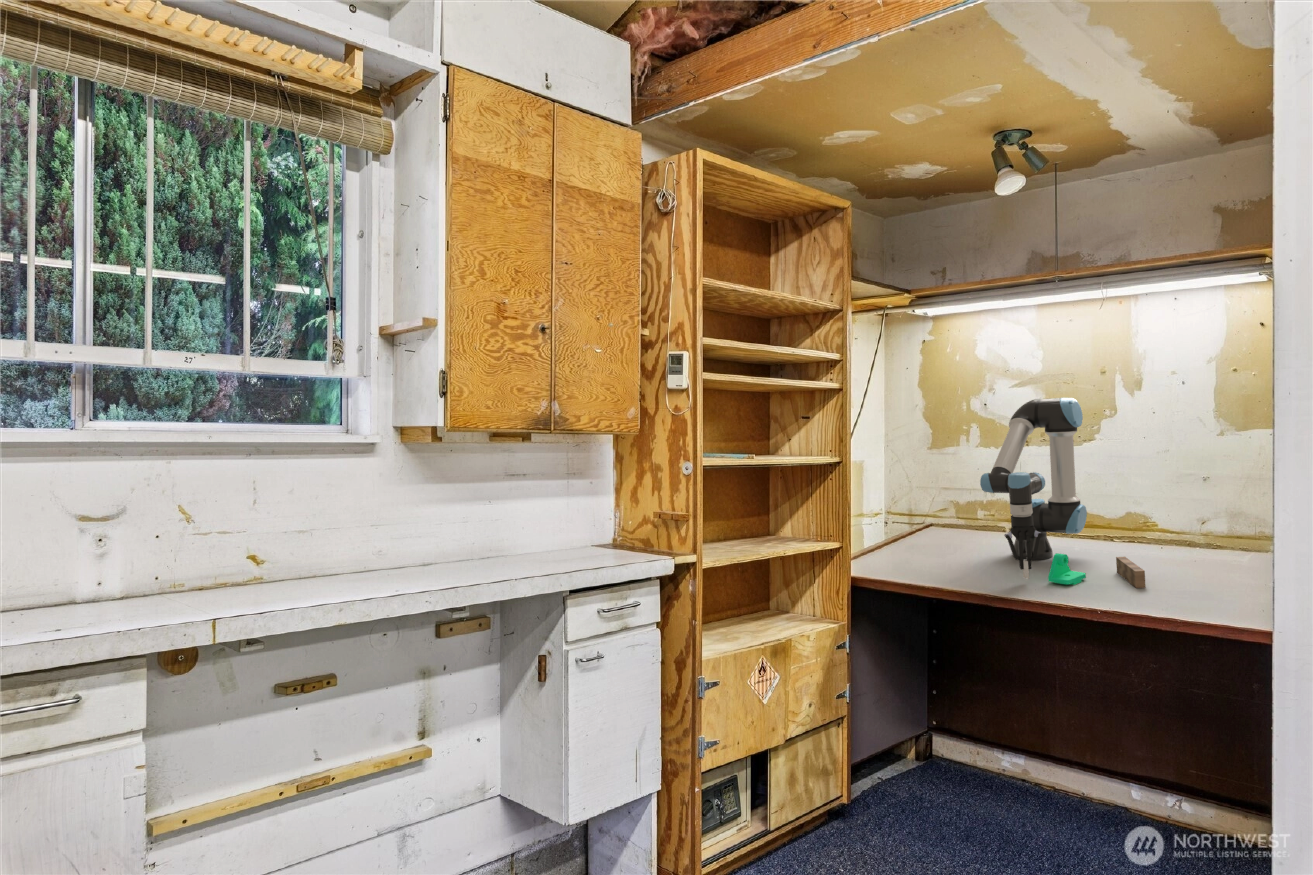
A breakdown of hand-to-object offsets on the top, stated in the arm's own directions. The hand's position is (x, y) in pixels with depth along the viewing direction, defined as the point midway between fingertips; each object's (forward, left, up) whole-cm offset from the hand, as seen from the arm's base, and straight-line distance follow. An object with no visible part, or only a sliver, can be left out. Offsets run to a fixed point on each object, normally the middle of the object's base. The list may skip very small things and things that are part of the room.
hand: (1026, 577), depth 307 cm
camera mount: (0, +14, -3) cm, 15 cm away
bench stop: (+1, +35, -2) cm, 35 cm away
